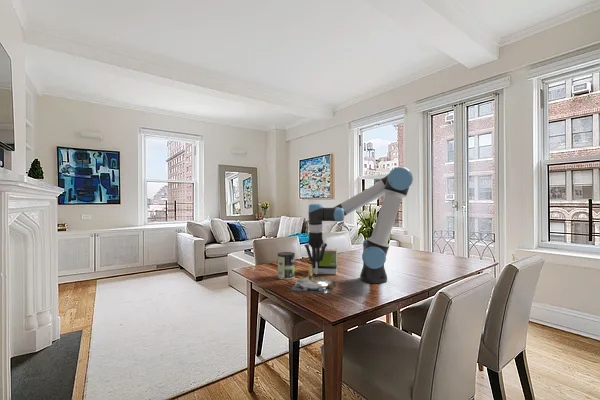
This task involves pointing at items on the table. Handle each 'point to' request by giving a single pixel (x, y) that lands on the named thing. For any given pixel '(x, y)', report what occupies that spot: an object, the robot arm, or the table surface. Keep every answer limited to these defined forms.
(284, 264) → the coffee can
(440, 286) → the table surface
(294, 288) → the base plate
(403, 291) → the table surface
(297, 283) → the sprocket
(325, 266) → the tea box
